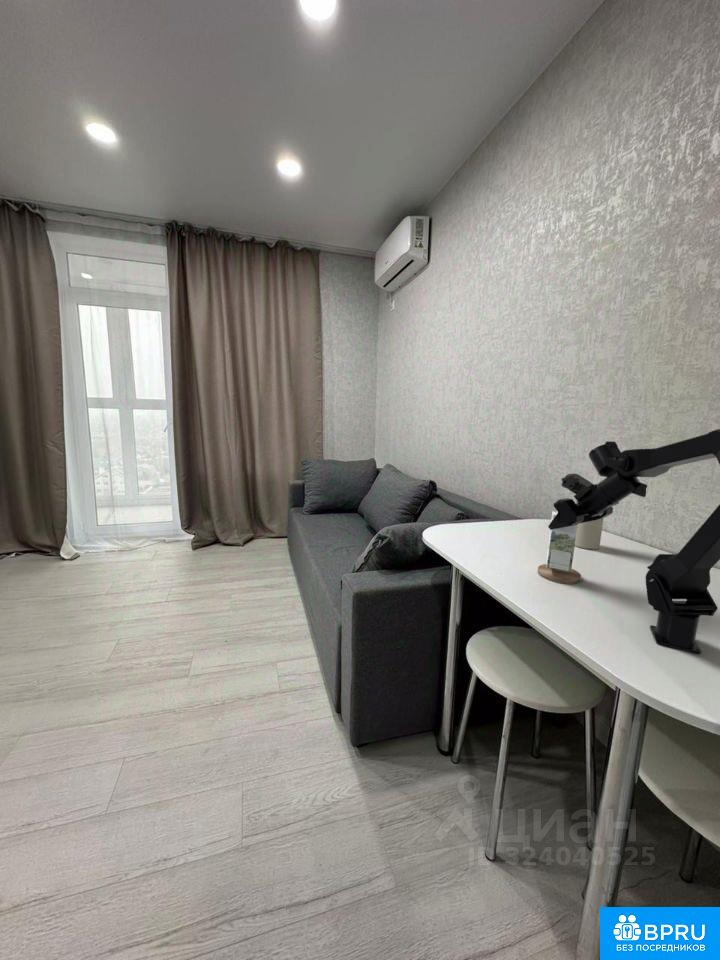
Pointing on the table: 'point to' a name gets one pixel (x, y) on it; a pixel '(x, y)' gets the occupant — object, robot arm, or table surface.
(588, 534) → the travel mug
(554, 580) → the walnut stand
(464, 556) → the table surface
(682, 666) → the table surface
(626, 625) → the table surface
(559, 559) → the syrup box
